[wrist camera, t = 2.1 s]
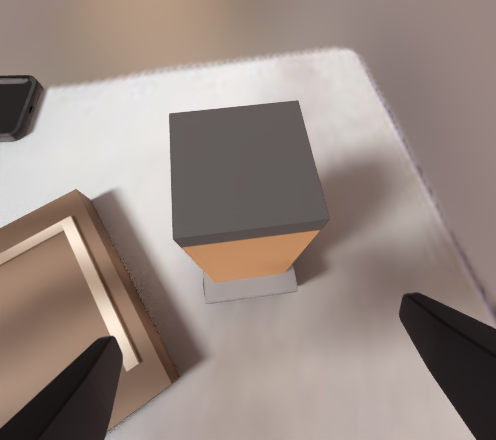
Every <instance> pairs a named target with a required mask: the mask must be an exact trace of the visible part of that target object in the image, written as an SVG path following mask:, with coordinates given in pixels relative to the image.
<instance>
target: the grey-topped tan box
mask: <svg viewBox="0 0 496 440" xmlns="http://www.w3.org/2000/svg"><path fill="white" fill-rule="evenodd" d="M169 125H170V159H171V193H172V227H173V240H174V241H175V242H176V243H177V244H178V245H179V246H180V247H181V248H182V249H183V250H184V251H185V252H186V253H187V254H188V255H189V256H190V257H191V258H192V259H193V260H194V261H195V263H196V264H197V265H198V266H199V267H200V268H201V269H202V270H203V276H204V277H203V286H204V295H205V303H206V304H212V303H219V302H227V301H234V300H241V299H248V298H255V297H263V296H270V295H277V294H284V293H291V292H296V291H298V287H297V282H296V277H295V272H294V267H293V262H294V261H295V260H296V259H297V257H298V256H299V255H300V254H301V253H302V252H303V250H304V249H305V248H306V247H307V246H308V244H309V243H310V242H311V241H312V240H313V238H314V237H315V236H316V235H317V234H318V232H319V231H320V230H321V229H322V228H323V226H324V225H325V224H326V223H327V222H328V221H329V215H328V211H327V207H326V203H325V200H324V196H323V192H322V188H321V185H320V181H319V177H318V173H317V169H316V166H315V162H314V158H313V154H312V151H311V147H310V143H309V139H308V135H307V132H306V128H305V124H304V120H303V117H302V113H301V109H300V105H299V101H288V102H278V103H268V104H259V105H249V106H239V107H229V108H219V109H210V110H200V111H190V112H180V113H170V114H169Z"/></svg>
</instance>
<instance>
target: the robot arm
mask: <svg viewBox="0 0 496 440" xmlns="http://www.w3.org/2000/svg"><path fill="white" fill-rule="evenodd" d="M399 317H400V320H401V322H402V324H403V326H404V327H405V329H406V331H407V333H408V334H409V336H410V338H411V340H412V342H413V343H414V345H415V347H416V349H417V351H418V352H419V354H420V356H421V358H422V359H423V361H424V363H425V365H426V366H427V368H428V369H429V371H430V372H431V374H432V376H433V377H434V379H435V380H436V381H437V383H438V384H439V386H440V387H441V389H442V390H443V392H444V393H445V395H446V396H447V398H448V399H449V400H450V402H451V403H452V405H453V406H454V408H455V409H456V411H457V412H458V414H459V415H460V417H461V418H462V419H463V421H464V422H465V424H466V425H467V427H468V428H469V430H470V431H471V433H472V434H473V436H474V437H475V438H476V440H496V329H495V328H493V327H491V326H489V325H486V324H484V323H482V322H480V321H478V320H476V319H474V318H472V317H469V316H467V315H465V314H463V313H461V312H459V311H457V310H455V309H453V308H450V307H448V306H446V305H444V304H442V303H440V302H438V301H436V300H433V299H431V298H429V297H427V296H425V295H423V294H421V293H418V292H413V293H406V294H404V295H403V297H402V301H401V306H400V311H399ZM122 363H123V354H122V351H121V349H120V346H119V344H118V342H117V340H116V338H115V337H114V336H112V335H111V336H104V337H100V338H98V339H97V340H95V341H94V342H93V343H92V344H91V345H90V346H89V347H88V348H87V349H86V350H85V351H83V352H82V353H81V354H80V355H79V356H78V357H77V358H76V359H75V360H74V361H73V362H72V363H70V364H69V365H68V366H67V367H66V368H65V369H64V370H63V371H62V372H61V373H60V374H59V375H57V376H56V377H55V378H54V379H53V380H52V381H51V382H50V383H49V384H48V385H47V386H45V387H44V388H43V389H42V390H41V391H40V392H39V393H38V394H37V395H36V396H35V397H34V398H32V399H31V400H30V401H29V402H28V403H27V404H26V405H25V406H24V407H23V408H22V409H21V410H19V411H18V412H17V413H16V414H15V415H14V416H13V417H12V418H11V419H10V420H9V421H8V422H6V423H5V424H4V425H3V426H2V427H1V428H0V440H104V439H105V436H106V433H107V430H108V426H109V423H110V419H111V415H112V411H113V406H114V401H115V397H116V392H117V387H118V382H119V378H120V373H121V368H122Z"/></svg>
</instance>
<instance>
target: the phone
mask: <svg viewBox="0 0 496 440" xmlns="http://www.w3.org/2000/svg"><path fill="white" fill-rule="evenodd" d="M41 89H44V88H43V86H42V85H41V84H40V83H39V82H38V81H37V80H36V79H35V78H34V77H33V76H29V75H23V76H22V75H16V76H0V142H14V141H17V140H19V139H21V138H22V137H23V136H24V135H25V134H26V132H27V129H28V126H29V124H30V121H31V118H32V115H33V112H34V109H35V106H36V103H37V101H38V98H39V95H40V92H41ZM31 106H32V110H31V113H29V110H30V107H31ZM26 125H27V126H26Z"/></svg>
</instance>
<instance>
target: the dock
mask: <svg viewBox="0 0 496 440" xmlns="http://www.w3.org/2000/svg"><path fill="white" fill-rule="evenodd" d="M111 335H112V336H114V337H115V338H116V340H117V342H118V344H119V346H120V349H121V351H122V354H123V363H122V368H121V373H120V378H119V382H118V387H117V392H116V397H115V401H114V406H113V411H112V415H111V419H110V423H109V426H108V430H110V429H111V428H112V427H114V426H115V425H116V424H118V423H119V422H121V421H122V420H123V419H125V418H126V417H127V416H129V415H130V414H131V413H133V412H134V411H135V410H137V409H138V408H140V407H141V406H142V405H144V404H145V403H146V402H148V401H149V400H150V399H152V398H153V397H155V396H156V395H157V394H159V393H160V392H161V391H163V390H164V389H165V388H167V387H168V386H170V385H171V384H172V383H173V382H174V381H176V380H177V379H178V378H179V377H180V376H179V374H178V372H177V370H176V368H175V366H174V364H173V362H172V360H171V358H170V356H169V354H168V352H167V350H166V348H165V346H164V344H163V342H162V340H161V338H160V336H159V335H158V333H157V331H156V329H155V327H154V325H153V323H152V321H151V319H150V317H149V315H148V313H147V311H146V309H145V307H144V305H143V303H142V301H141V299H140V297H139V295H138V293H137V291H136V289H135V287H134V285H133V283H132V281H131V279H130V277H129V275H128V273H127V271H126V269H125V267H124V265H123V263H122V261H121V259H120V257H119V255H118V253H117V251H116V249H115V247H114V245H113V243H112V241H111V239H110V237H109V235H108V233H107V231H106V229H105V227H104V225H103V224H102V222H101V220H100V218H99V216H98V214H97V212H96V210H95V208H94V206H93V204H92V202H91V200H90V199H89V198H87V197H86V196H85V195H83V194H82V193H81V192H79V191H78V190H77V189H75V190H73V191H71V192H69V193H68V194H66V195H64V196H62V197H60V198H58V199H56V200H54V201H52V202H50V203H48V204H46V205H44V206H42V207H40V208H39V209H37V210H35V211H33V212H31V213H29V214H27V215H25V216H23V217H21V218H19V219H17V220H15V221H13V222H12V223H10V224H8V225H6V226H4V227H2V228H0V428H1V427H2V426H3V425H4V424H5V423H6V422H8V421H9V420H10V419H11V418H12V417H13V416H14V415H15V414H16V413H17V412H18V411H19V410H21V409H22V408H23V407H24V406H25V405H26V404H27V403H28V402H29V401H30V400H31V399H32V398H34V397H35V396H36V395H37V394H38V393H39V392H40V391H41V390H42V389H43V388H44V387H45V386H47V385H48V384H49V383H50V382H51V381H52V380H53V379H54V378H55V377H56V376H57V375H59V374H60V373H61V372H62V371H63V370H64V369H65V368H66V367H67V366H68V365H69V364H70V363H72V362H73V361H74V360H75V359H76V358H77V357H78V356H79V355H80V354H81V353H82V352H83V351H85V350H86V349H87V348H88V347H89V346H90V345H91V344H92V343H93V342H94V341H95V340H97V339H98V338H100V337H104V336H111ZM108 430H107V431H108Z"/></svg>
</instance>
